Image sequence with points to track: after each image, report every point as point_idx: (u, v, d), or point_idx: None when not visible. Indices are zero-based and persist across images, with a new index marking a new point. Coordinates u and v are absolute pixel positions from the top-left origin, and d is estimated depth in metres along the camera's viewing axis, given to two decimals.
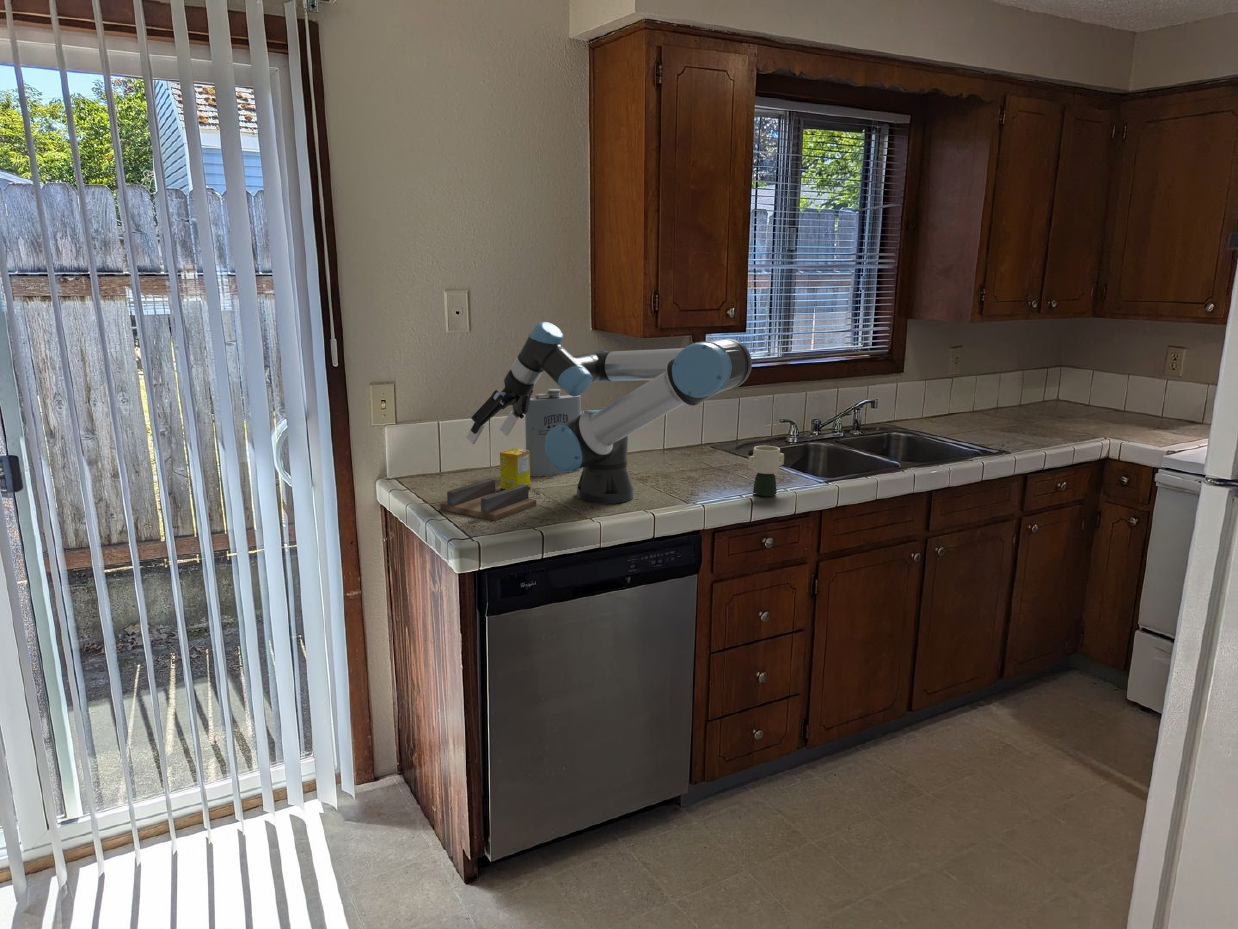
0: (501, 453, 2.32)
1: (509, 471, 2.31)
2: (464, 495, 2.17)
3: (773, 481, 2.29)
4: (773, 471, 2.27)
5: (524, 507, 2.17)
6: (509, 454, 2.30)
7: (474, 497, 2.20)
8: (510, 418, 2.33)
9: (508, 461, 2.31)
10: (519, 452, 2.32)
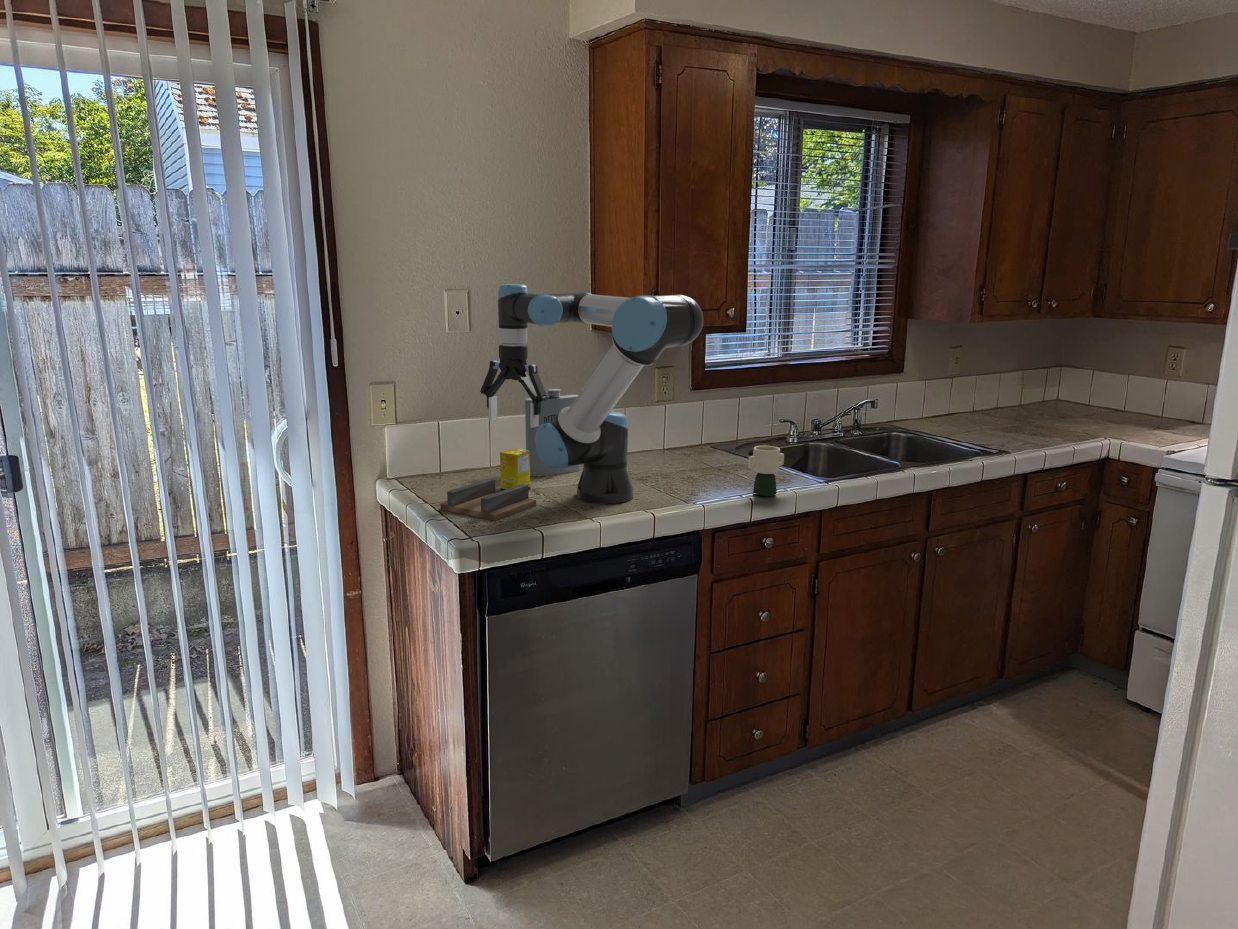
0: (501, 453, 2.32)
1: (509, 471, 2.31)
2: (464, 495, 2.17)
3: (773, 481, 2.29)
4: (773, 471, 2.27)
5: (524, 507, 2.17)
6: (509, 454, 2.30)
7: (474, 497, 2.20)
8: None
9: (508, 461, 2.31)
10: (519, 452, 2.32)
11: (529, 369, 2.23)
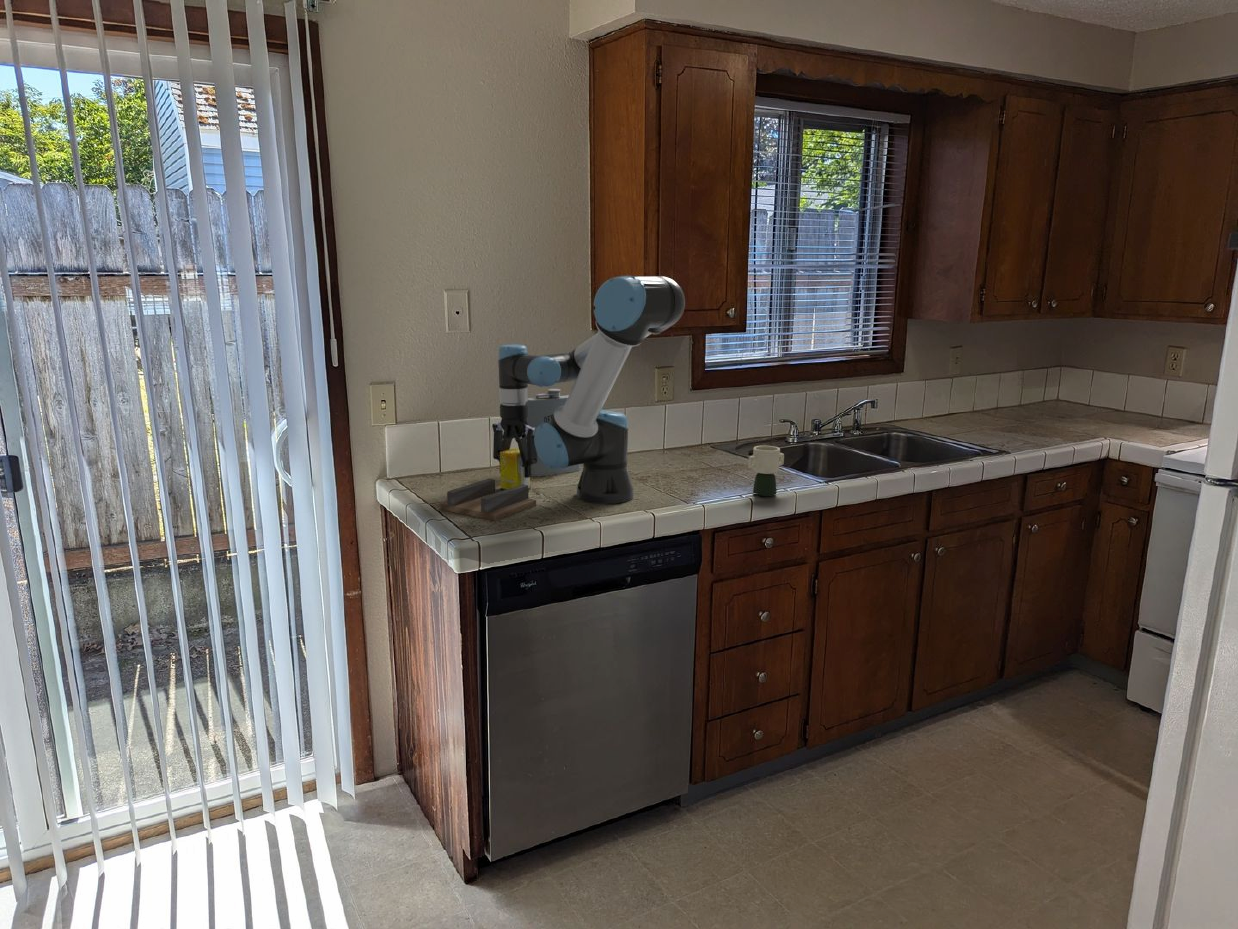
0: (501, 453, 2.32)
1: (509, 471, 2.31)
2: (464, 495, 2.17)
3: (773, 481, 2.29)
4: (773, 470, 2.27)
5: (524, 507, 2.17)
6: (509, 454, 2.30)
7: (474, 497, 2.20)
8: None
9: (508, 461, 2.31)
10: (519, 452, 2.32)
11: (528, 432, 2.27)
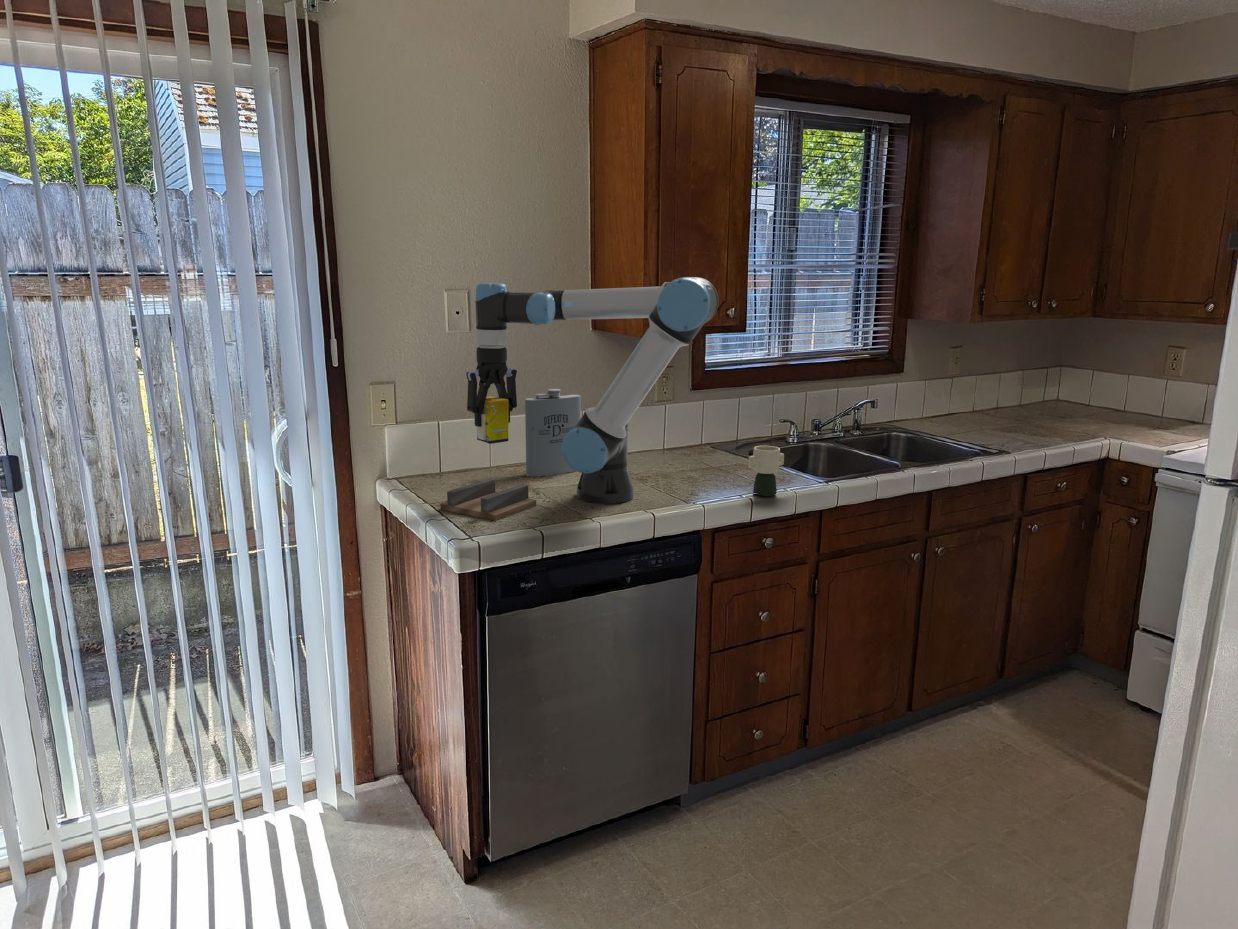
0: (491, 402, 2.14)
1: (500, 419, 2.17)
2: (464, 495, 2.17)
3: (773, 481, 2.29)
4: (773, 471, 2.27)
5: (524, 507, 2.17)
6: (500, 401, 2.16)
7: (474, 497, 2.20)
8: None
9: (499, 408, 2.16)
10: (499, 398, 2.18)
11: (513, 373, 2.19)
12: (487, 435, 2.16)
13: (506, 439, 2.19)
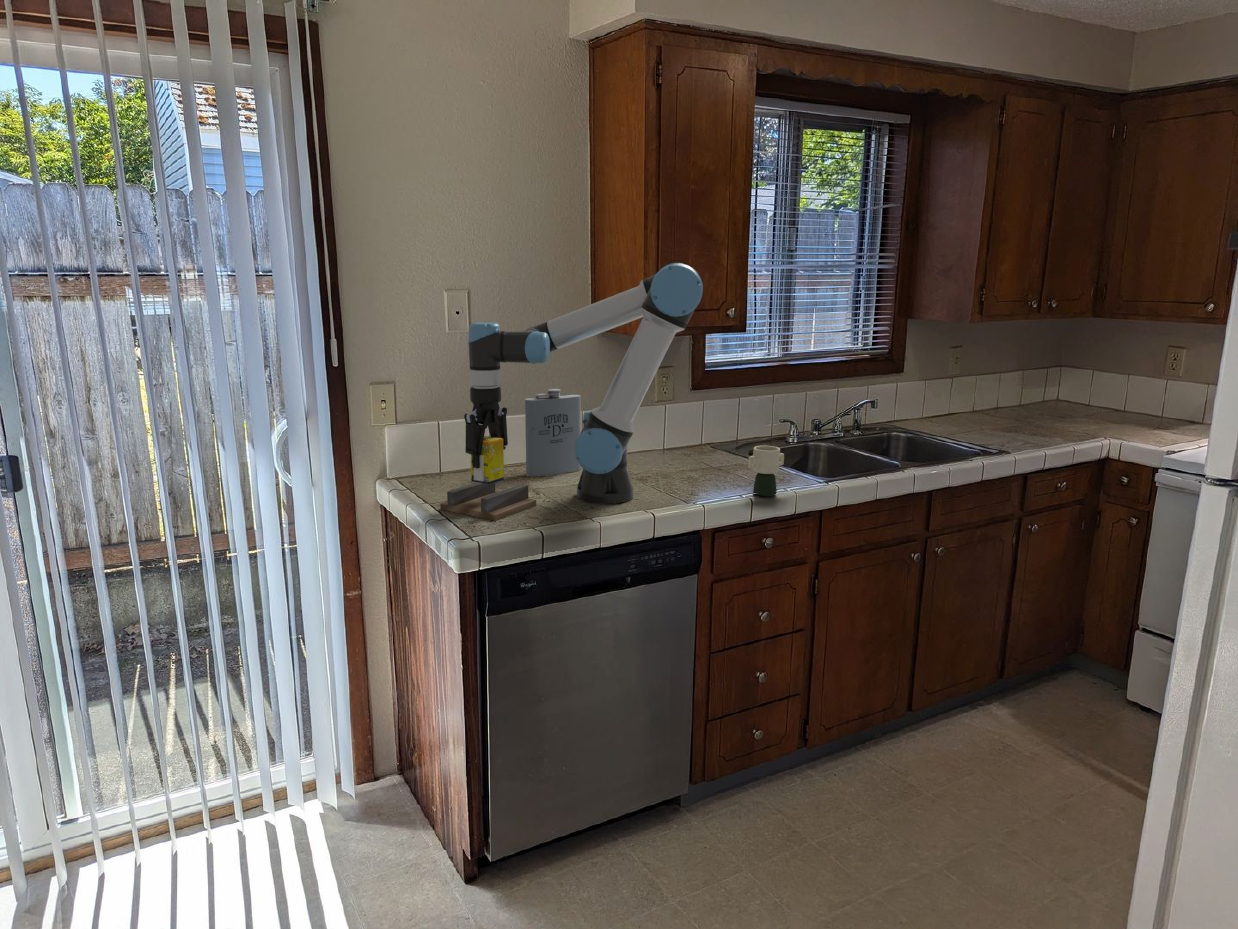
0: (489, 442, 2.11)
1: (497, 459, 2.15)
2: (464, 495, 2.17)
3: (773, 481, 2.29)
4: (773, 471, 2.27)
5: (524, 507, 2.17)
6: (496, 440, 2.14)
7: (474, 497, 2.20)
8: None
9: (496, 448, 2.14)
10: (492, 437, 2.16)
11: (504, 412, 2.17)
12: (486, 476, 2.13)
13: (502, 478, 2.17)
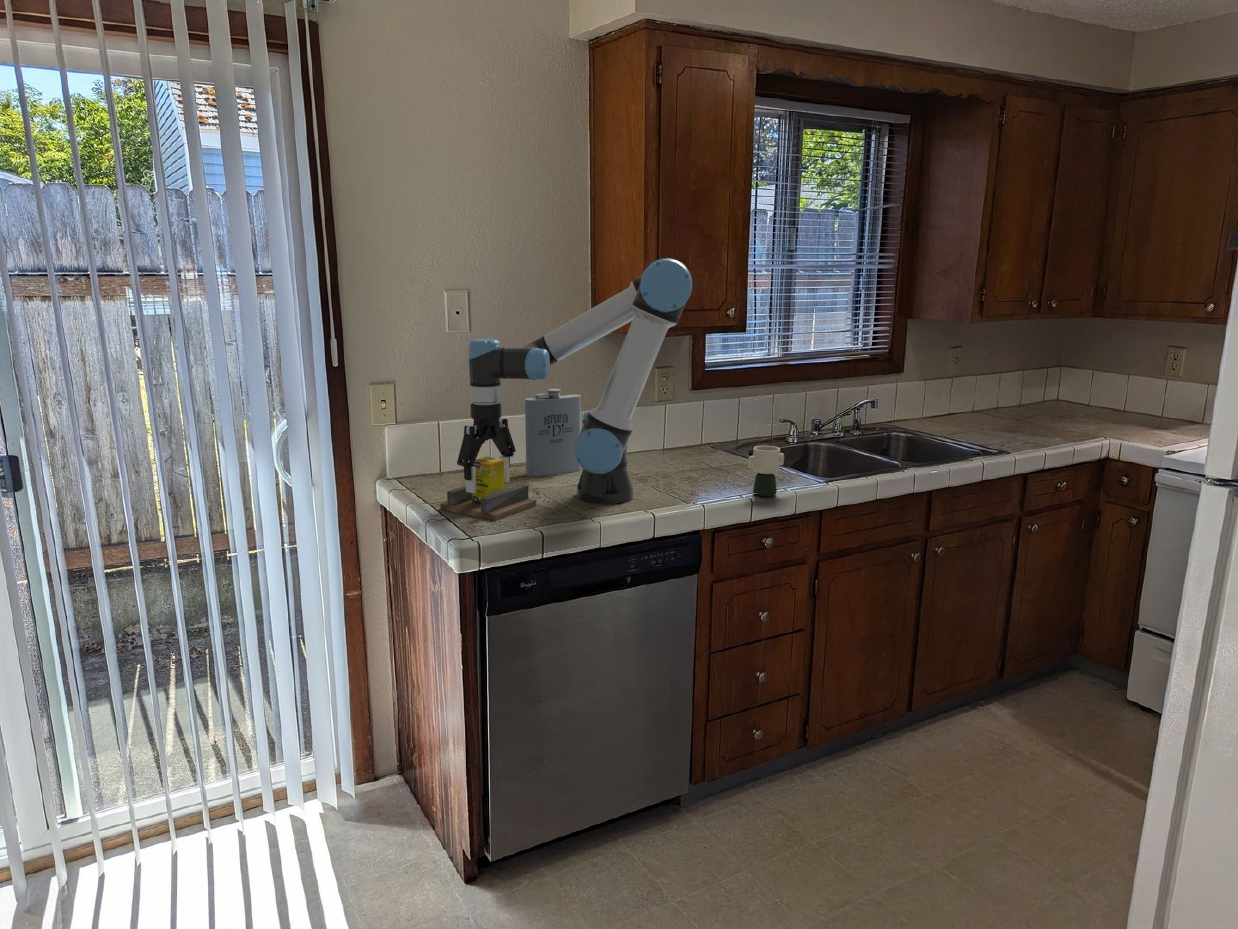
0: (490, 464, 2.13)
1: (497, 480, 2.16)
2: (464, 495, 2.17)
3: (773, 481, 2.29)
4: (773, 471, 2.27)
5: (524, 507, 2.17)
6: (497, 462, 2.15)
7: None
8: None
9: (496, 470, 2.15)
10: (493, 458, 2.17)
11: (505, 423, 2.18)
12: None
13: None
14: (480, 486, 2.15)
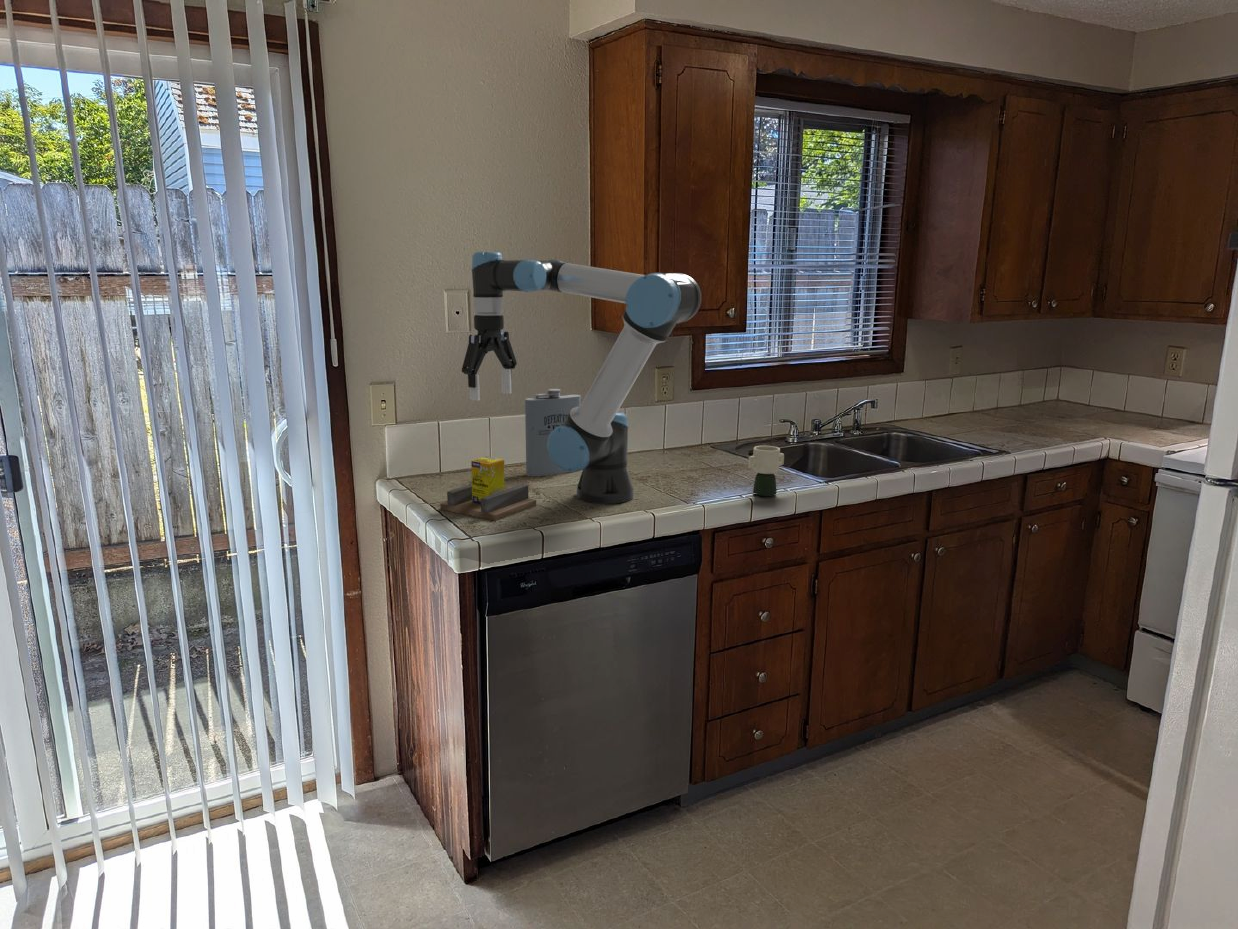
0: (490, 464, 2.13)
1: (497, 480, 2.16)
2: (464, 495, 2.17)
3: (773, 481, 2.29)
4: (773, 471, 2.27)
5: (524, 507, 2.17)
6: (497, 462, 2.15)
7: None
8: (504, 374, 2.29)
9: (497, 470, 2.15)
10: (493, 458, 2.17)
11: (507, 336, 2.25)
12: None
13: None
14: (480, 486, 2.15)
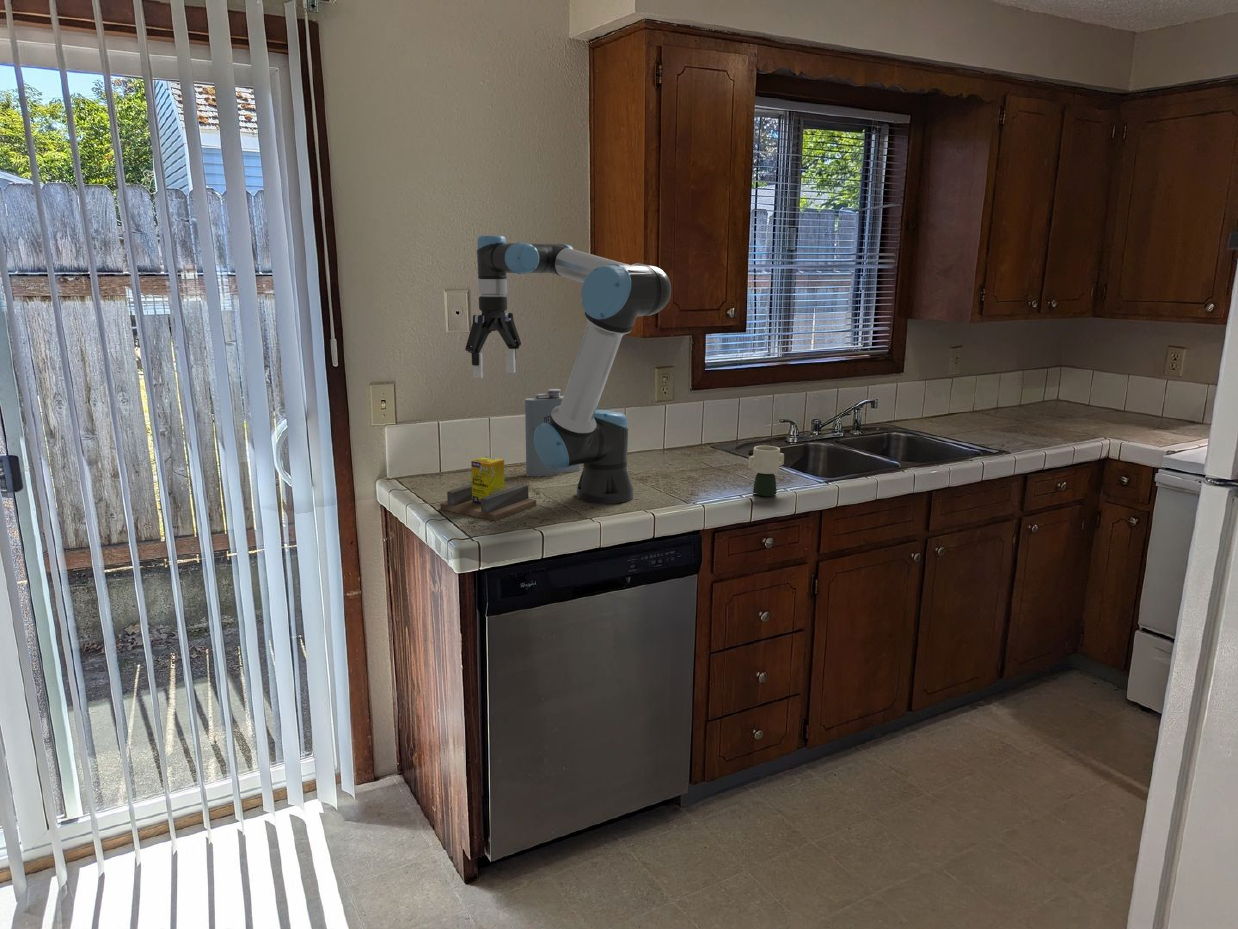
0: (490, 464, 2.13)
1: (497, 480, 2.16)
2: (464, 495, 2.17)
3: (773, 481, 2.29)
4: (773, 471, 2.27)
5: (524, 507, 2.17)
6: (497, 462, 2.15)
7: None
8: (508, 354, 2.38)
9: (497, 470, 2.15)
10: (493, 458, 2.17)
11: (511, 317, 2.35)
12: None
13: None
14: (480, 486, 2.15)
